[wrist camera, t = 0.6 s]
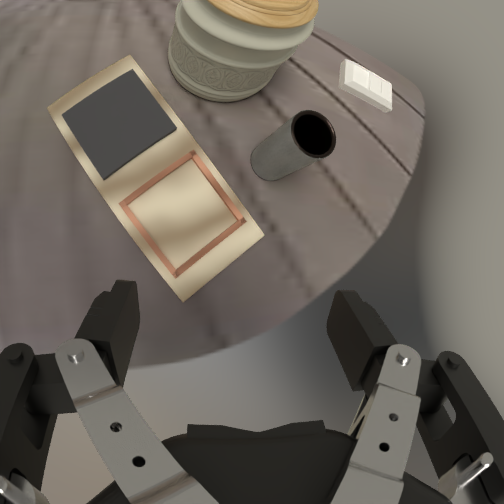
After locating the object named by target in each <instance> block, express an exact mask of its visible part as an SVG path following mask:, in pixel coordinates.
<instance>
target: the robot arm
mask: <svg viewBox="0 0 504 504" xmlns="http://www.w3.org/2000/svg"><path fill="white" fill-rule="evenodd" d="M139 323H140V312H139V303H138V293H137V284H136V282H135V281H127V280H116V282H115V284H114V286H113V288H112V290H111V292H107V291H104V292H102V293H101V294H100V295H99V296H97V297H96V298H95V299H94V301H93V303H92V305H91V308H90V309H89V311H88V313H87V315H86V316H85V318H84V320H83V322H82V324H81V326H80V328H79V330H78V332H77V334H76V336H75V338H74V339H71V340H68V341H66V342H64V343H62V344H61V345H60V346H59V347H58V348H57V350H56V353H53V354H42V355H35V354H34V352H33V350H32V348H31V347H30V346H29V345H27V344H24V343H16V344H12V345H10V346H8V347H6V348H5V349H4V350H3V351H2V352H1V354H0V504H50V503H49V501H48V499H47V498H46V497H45V496H44V494H42V493H41V486H42V480H43V475H44V470H45V465H46V460H47V456H48V451H49V447H50V443H51V438H52V434H53V430H54V427H55V423H56V419H57V415H58V414H63V413H75V412H78V414H79V416H80V418H81V421H82V422H83V425H84V427H85V429H86V430H87V432H88V434H89V436H90V438H91V440H92V442H93V444H94V446H95V447H96V449H97V451H98V453H99V455H100V456H101V458H102V460H103V461H104V463H105V465H106V466H107V468H108V470H109V471H110V473H111V475H112V476H113V478H114V479H115V480H114V481H113V482H112V483H111V484H110V485H109V486H107V487H106V488H105V489H104V490H103V491H101V492H100V493H99V494H98V495H97V496H95V497H94V498H93V499H92V500H91V501H89V502H88V503H87V504H504V420H503V419H502V417H501V415H500V414H499V412H498V410H497V409H496V407H495V405H494V404H493V402H492V401H491V399H490V397H489V396H488V394H487V393H486V391H485V390H484V388H483V387H482V385H481V384H480V382H479V381H478V379H477V378H476V376H475V375H474V373H473V372H472V370H471V369H470V367H469V366H468V365H467V363H466V362H465V360H464V359H463V358H462V357H461V356H460V355H458V354H456V353H454V352H451V351H444V352H441V353H440V354H439V356H438V358H437V359H436V361H430V360H423V359H421V358H420V356H419V354H418V353H417V352H416V351H415V350H414V349H412V348H410V347H408V346H406V345H402V344H398V343H397V341H396V340H395V338H394V337H393V335H392V334H391V332H390V331H389V329H388V328H387V326H386V325H384V322H383V320H382V319H381V318H380V316H379V315H378V313H377V312H376V310H375V309H374V308H373V307H372V306H370V305H369V304H368V303H366V302H363V301H362V299H361V298H360V297H359V295H358V293H357V292H356V291H354V290H338V291H337V292H336V293H335V296H334V299H333V303H332V306H331V309H330V313H329V316H328V320H327V333H328V336H329V338H330V340H331V343H332V345H333V347H334V349H335V352H336V354H337V356H338V358H339V361H340V363H341V365H342V367H343V370H344V372H345V374H346V377H347V379H348V381H349V383H350V386H351V388H352V390H353V391H360V390H364V391H365V395H364V397H363V399H362V401H361V404H360V406H359V408H358V411H357V413H356V416H355V418H354V420H353V422H352V425H351V427H350V429H349V431H348V434H344V433H342V432H338V431H335V430H329V429H325V426H324V422H323V420H319V421H309V422H298V423H290V424H287V425H284V426H280V427H277V428H273V429H270V430H266V431H262V432H253V431H248V430H242V429H237V428H232V427H227V426H223V425H193V424H188V427H187V433H186V434H181V435H177V436H173V437H171V438H168V439H165V440H163V441H162V442H161V441H160V440H159V439H158V438H157V436H156V435H155V434H154V432H153V431H152V430H151V428H150V427H149V426H148V424H147V423H146V421H145V420H144V419H143V417H142V416H141V415H140V413H139V412H138V410H137V409H136V407H135V406H134V404H133V403H132V401H131V400H130V398H129V397H128V395H127V394H126V393H125V391H124V389H123V385H124V381H125V377H126V373H127V369H128V365H129V362H130V358H131V354H132V351H133V347H134V343H135V340H136V336H137V333H138V329H139ZM447 399H449V400H450V402H451V404H452V406H453V408H454V410H455V412H456V420H455V422H454V424H453V423H452V421H451V419H450V417H449V415H448V414H447V411H446V410H445V408H444V406H443V404H444V403H445V402H446V400H447ZM415 426H417V428H418V431H419V433H420V435H421V437H422V440H423V442H424V444H425V447H426V449H427V451H428V454H429V456H430V459H431V461H432V463H433V466H434V468H435V471H436V473H437V476H438V478H439V482H438V491H437V490H435V489H433V488H431V487H430V486H428V485H426V484H425V483H423V482H421V481H420V480H418V479H416V478H415V477H413V476H411V475H410V474H408V473H407V472H405V471H404V470H405V466H406V463H407V459H408V455H409V451H410V448H411V444H412V439H413V435H414V431H415Z"/></svg>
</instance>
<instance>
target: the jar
mask: <svg viewBox="0 0 504 504" xmlns="http://www.w3.org/2000/svg"><path fill="white" fill-rule="evenodd" d="M317 11H318V0H181V1H180V2H179V4H178V6H177V9H176V12H175V26H174V30H173V35H172V36H171V39H170V42H169V47H168V60H169V64H170V68H171V71H172V73H173V75H174V77H175V78H176V80H177V81H178V82H179V83H180V84H181V85H182V86H183V87H184V88H185V89H186V90H188V91H189V92H191V93H193V94H194V95H197V96H199V97H201V98H204V99H207V100H211V101H218V102H232V101H238V100H242V99H245V98H247V97H249V96H251V95H253V94H255V93H256V92H258V91H260V90H261V89H262V88H263V87H264V86H266V84H267V83H268V82H269V81H270V80H271V78H272V77H273V75H274V73H275V71H276V70H277V69H278V68H279V67H280V66H281V64H282V63H283V62H285V61H286V60H288V59H289V58H290V57H291V56H292V55H293V54H294V52H295V51H296V49H297V47H298V45H299V44H301V43H303V42H304V41H305V40H306V39H307V38H308V37H309V36H310V35H311V33H312V31H313V27H314V17H315V15H316V14H317Z"/></svg>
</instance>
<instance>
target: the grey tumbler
mask: <svg viewBox="0 0 504 504" xmlns="http://www.w3.org/2000/svg"><path fill="white" fill-rule="evenodd" d="M335 145H336V135H335V131H334V128H333V126H332V125H331V123H330V122H329V120H328V119H327V118H326V117H324V116H323V115H322V114H320V113H318V112H316V111H312V110H304V111H301V112H299V113H297V114H296V115H295V116H293V117H292V118H291V119H290V120H288V121H287V122H286V123H285V124H283V125H282V126H281V127H280V128H278V129H277V130H276V131H275V132H274V133H272V134H271V135H270V136H269V137H268V138H266V139H265V140H264V141H263V142H262V143H260V144H259V145H258V146H257V147H256V148H255V149H254V151H253V152H252V155H251V165H252V168H253V170H254V172H255V173H256V174H257V175H258V176H259V177H261V178H262V179H264V180H268V181H274V180H278V179H280V178H282V177H285V176H287V175H289V174H291V173H293V172H295V171H297V170H299V169H302V168H304V167H306V166H308V165H310V164H312V163H315V162H317V161H319V160H321V159H323V158H326V157H327V156H329V155H330V154H331V153H332V152H333V150H334V148H335Z"/></svg>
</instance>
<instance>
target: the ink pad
mask: <svg viewBox="0 0 504 504" xmlns="http://www.w3.org/2000/svg"><path fill="white" fill-rule="evenodd" d="M62 117H63V118H64V120H65V122H66V123H67V125H68V127H69V128H70V130H71V131H72V133H73V135H74V136H75V138H76V139H77V141H78V142H79V144H80V146H81V147H82V149H83V150H84V152H85V153H86V155H87V156H88V158H89V159H90V161H91V162H92V164H93V165H94V167H95V168H96V170H97V171H98V173H99V174H100V176H101V177H102V179H103V180H106V179H107V178H108V177H110V176H111V175H112V174H114V173H115V172H116V171H118V170H119V169H120V168H122V167H123V166H124V165H126V164H127V163H129V162H130V161H131V160H133V159H134V158H136V157H137V156H138V155H140V154H141V153H143V152H144V151H146V150H147V149H148V148H150V147H151V146H153V145H154V144H156V143H157V142H159V141H160V140H162V139H163V138H165V137H167V136H168V135H170V134H171V133H173V132H174V131H176V129H177V127H176V126H175V124H174V123H173V122H172V120H171V119H170V118H169V116H168V115H167V114H166V112H165V111H164V110H163V108H162V107H161V106H160V104H159V103H158V102H157V100H156V99H155V98H154V96H153V95H152V94H151V92H150V91H149V90H148V88H147V87H146V86H145V84H144V83H143V82H142V80H141V79H140V78H139V77H138V75H137V74H136V73H135V71H134V70H133V69H131V70H129V71H128V72H126V73H124V74H122V75H121V76H119V77H117V78H116V79H114V80H112V81H111V82H109V83H107V84H106V85H104V86H103V87H101V88H99V89H98V90H96V91H95V92H93V93H92V94H90V95H89V96H87V97H86V98H84V99H83V100H81V101H80V102H78V103H77V104H75V105H74V106H73V107H71V108H70V109H68V110H67V111H66V112H64V113H63V114H62Z"/></svg>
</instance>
